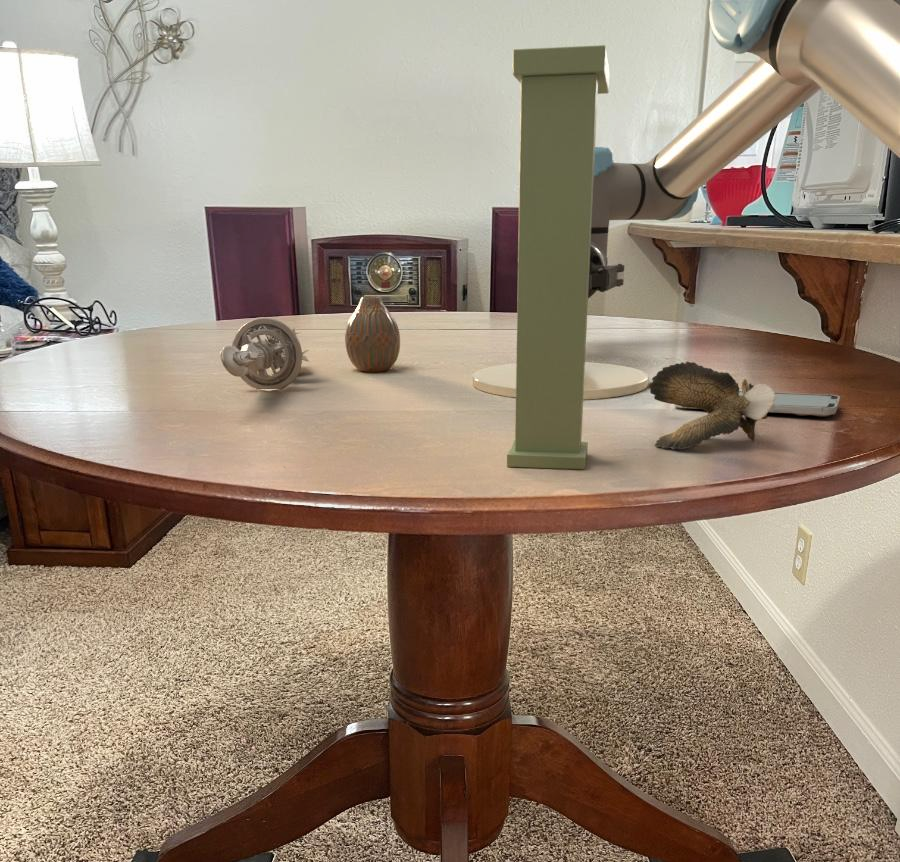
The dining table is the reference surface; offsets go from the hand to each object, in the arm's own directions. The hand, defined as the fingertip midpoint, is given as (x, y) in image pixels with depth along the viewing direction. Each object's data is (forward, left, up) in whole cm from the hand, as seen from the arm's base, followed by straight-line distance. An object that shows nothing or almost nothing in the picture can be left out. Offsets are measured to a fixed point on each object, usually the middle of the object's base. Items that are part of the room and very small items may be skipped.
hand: (564, 284), depth 100 cm
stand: (-7, +32, -11) cm, 35 cm away
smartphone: (-22, +10, -11) cm, 27 cm away
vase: (+25, -1, -11) cm, 27 cm away
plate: (0, +2, -11) cm, 11 cm away
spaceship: (+30, +16, -11) cm, 35 cm away
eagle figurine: (-19, +26, -11) cm, 35 cm away
